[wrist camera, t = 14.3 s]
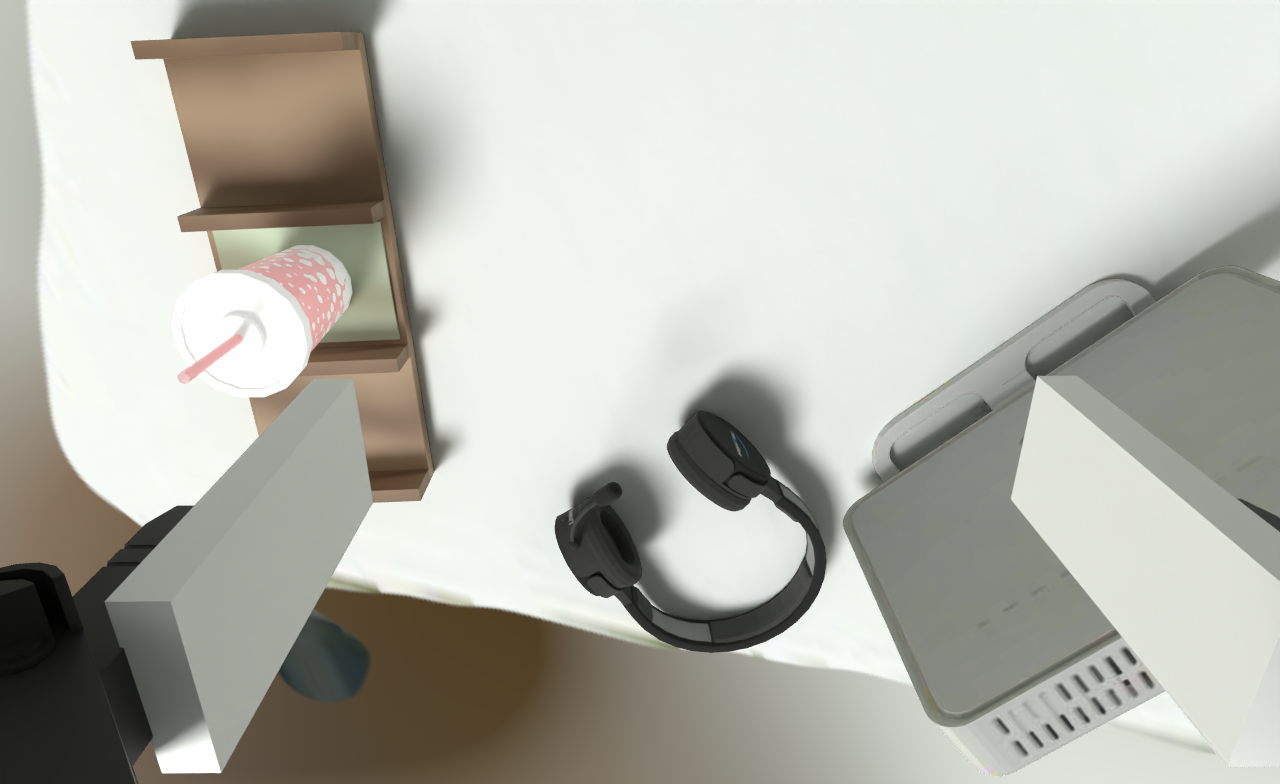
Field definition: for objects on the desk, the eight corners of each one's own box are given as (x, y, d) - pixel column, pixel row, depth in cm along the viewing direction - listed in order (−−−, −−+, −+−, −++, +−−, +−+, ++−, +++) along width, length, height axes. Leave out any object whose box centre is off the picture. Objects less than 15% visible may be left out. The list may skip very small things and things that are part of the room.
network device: (1181, 221, 46) (1551, 338, 27) (1243, 333, 48) (1618, 508, 30) (810, 475, 52) (909, 709, 34) (884, 562, 55) (1013, 823, 36)
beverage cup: (314, 209, 44) (181, 275, 31) (388, 299, 46) (292, 397, 33) (232, 270, 45) (72, 358, 32) (308, 355, 47) (185, 471, 34)
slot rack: (169, 41, 41) (130, 41, 38) (363, 32, 41) (340, 31, 38) (278, 478, 52) (254, 507, 48) (433, 472, 52) (420, 500, 48)
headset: (691, 428, 39) (898, 643, 48) (669, 345, 48) (848, 540, 56) (492, 576, 43) (717, 753, 51) (504, 474, 51) (695, 640, 59)
